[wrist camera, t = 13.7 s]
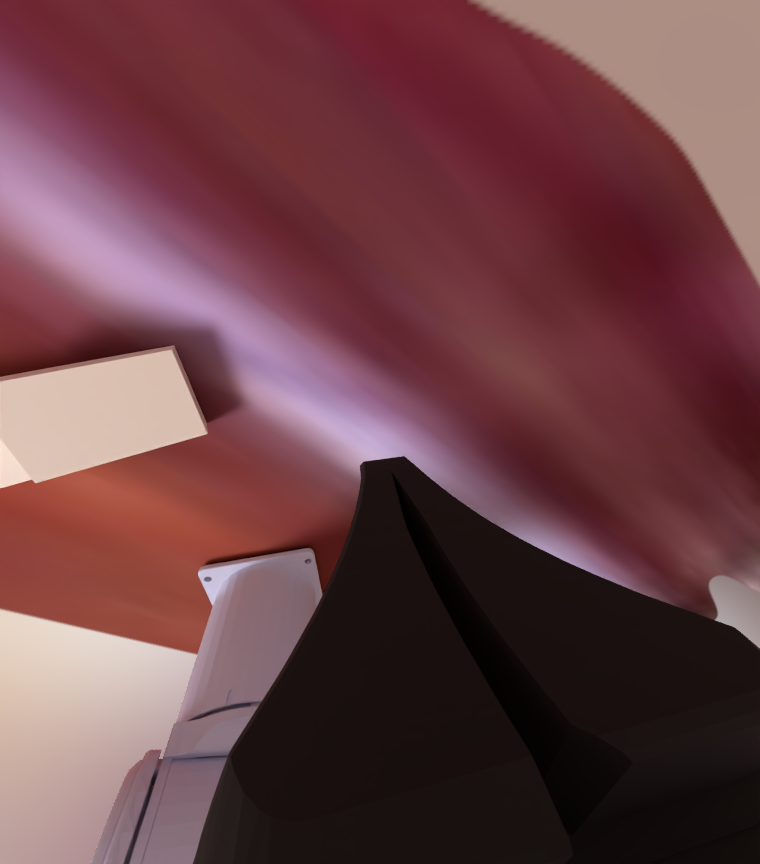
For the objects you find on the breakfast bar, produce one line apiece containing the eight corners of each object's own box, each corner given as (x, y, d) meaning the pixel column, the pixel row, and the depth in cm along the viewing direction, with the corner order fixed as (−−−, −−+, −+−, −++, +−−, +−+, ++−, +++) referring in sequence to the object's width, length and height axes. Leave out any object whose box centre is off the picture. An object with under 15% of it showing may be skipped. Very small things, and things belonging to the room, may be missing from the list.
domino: (207, 433, 16) (34, 483, 14) (207, 423, 17) (49, 467, 15) (171, 349, 14) (-39, 388, 12) (174, 345, 15) (-15, 379, 13)
